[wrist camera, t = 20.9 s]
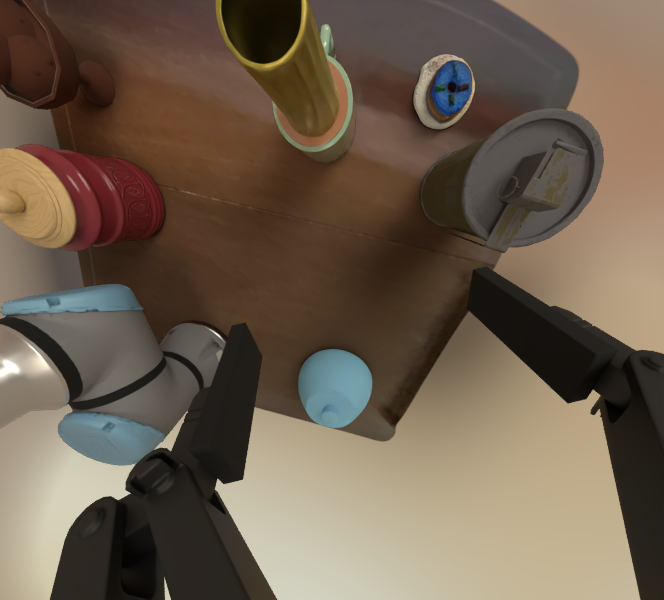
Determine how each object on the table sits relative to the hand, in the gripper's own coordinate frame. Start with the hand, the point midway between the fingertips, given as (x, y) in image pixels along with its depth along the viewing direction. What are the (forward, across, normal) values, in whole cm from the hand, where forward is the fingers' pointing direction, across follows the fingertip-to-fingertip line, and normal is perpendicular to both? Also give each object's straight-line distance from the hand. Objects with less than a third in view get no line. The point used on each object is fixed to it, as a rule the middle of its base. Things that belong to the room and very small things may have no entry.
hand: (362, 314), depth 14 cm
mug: (+32, +4, +12) cm, 34 cm away
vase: (+23, +1, +12) cm, 26 cm away
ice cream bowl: (+41, -28, +22) cm, 55 cm away
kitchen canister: (+38, -32, +6) cm, 50 cm away
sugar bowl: (+24, -4, -33) cm, 41 cm away
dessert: (+28, +19, +11) cm, 36 cm away
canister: (+26, +20, -1) cm, 33 cm away
